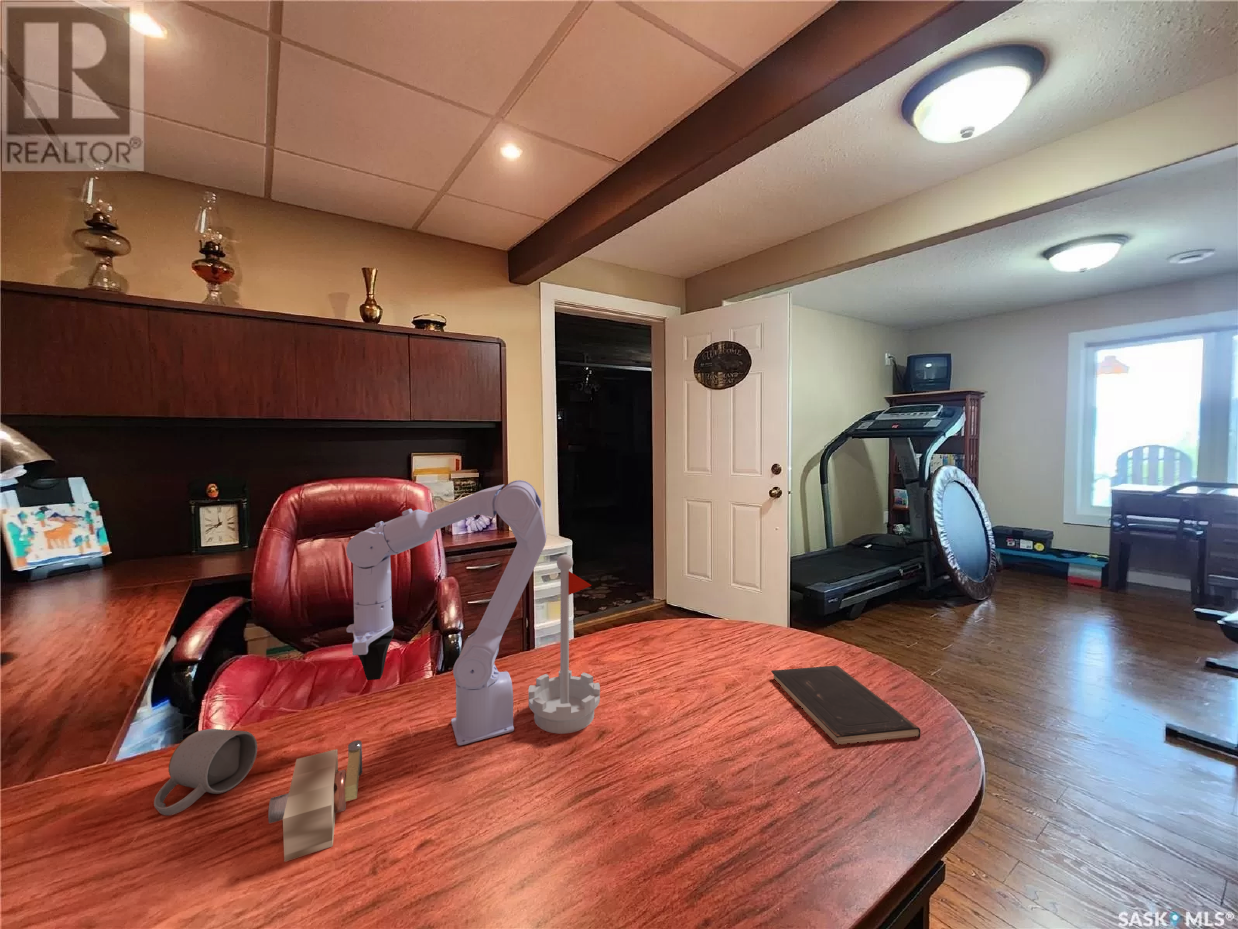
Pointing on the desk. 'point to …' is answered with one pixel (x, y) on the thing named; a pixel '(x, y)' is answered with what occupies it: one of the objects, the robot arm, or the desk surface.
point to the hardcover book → (844, 705)
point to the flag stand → (565, 675)
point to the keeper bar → (353, 770)
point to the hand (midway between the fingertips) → (374, 677)
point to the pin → (279, 802)
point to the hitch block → (310, 806)
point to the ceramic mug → (207, 765)
